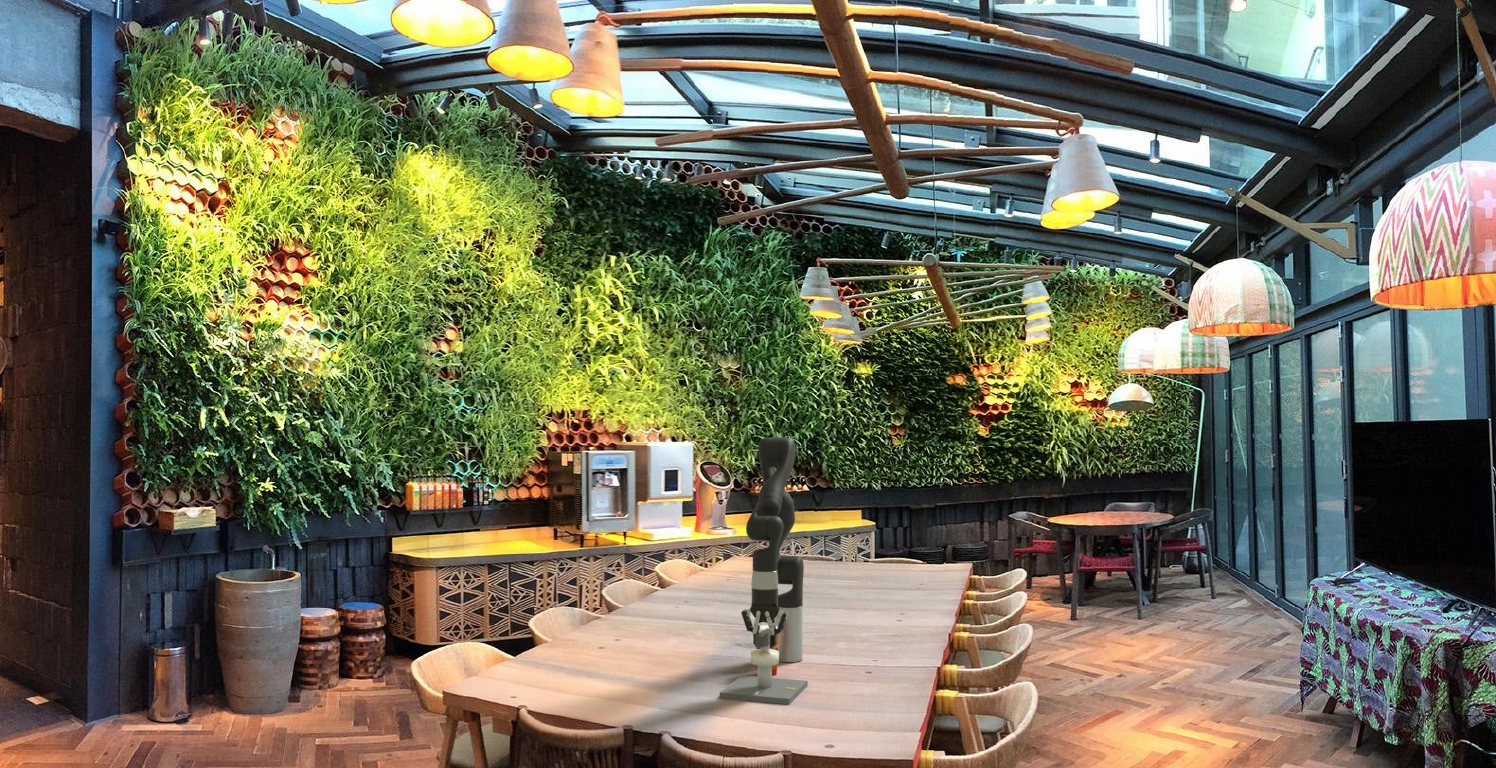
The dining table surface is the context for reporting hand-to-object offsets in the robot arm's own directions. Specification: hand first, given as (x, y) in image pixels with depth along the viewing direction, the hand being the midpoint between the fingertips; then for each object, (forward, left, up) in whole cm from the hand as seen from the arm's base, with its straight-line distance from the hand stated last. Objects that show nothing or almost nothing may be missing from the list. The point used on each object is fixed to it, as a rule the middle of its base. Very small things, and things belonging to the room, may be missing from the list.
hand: (764, 646), depth 281 cm
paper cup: (-20, -5, -13) cm, 24 cm away
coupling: (0, 0, -4) cm, 4 cm away
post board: (0, 0, -13) cm, 13 cm away
